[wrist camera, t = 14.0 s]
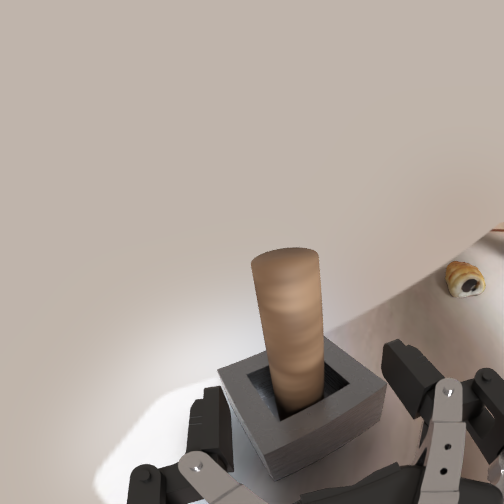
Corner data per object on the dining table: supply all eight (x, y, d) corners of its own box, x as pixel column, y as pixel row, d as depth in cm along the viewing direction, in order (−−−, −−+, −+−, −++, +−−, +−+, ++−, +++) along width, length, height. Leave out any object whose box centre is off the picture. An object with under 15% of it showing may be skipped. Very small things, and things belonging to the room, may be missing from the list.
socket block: (317, 365, 27) (314, 328, 25) (379, 420, 18) (387, 383, 16) (230, 404, 24) (217, 369, 22) (274, 481, 14) (263, 454, 13)
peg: (327, 395, 21) (321, 246, 17) (319, 429, 18) (313, 271, 13) (284, 392, 23) (262, 249, 18) (272, 424, 19) (240, 272, 15)
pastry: (438, 273, 38) (439, 252, 37) (470, 271, 35) (472, 250, 34) (450, 300, 30) (453, 276, 29) (487, 297, 27) (492, 273, 26)
